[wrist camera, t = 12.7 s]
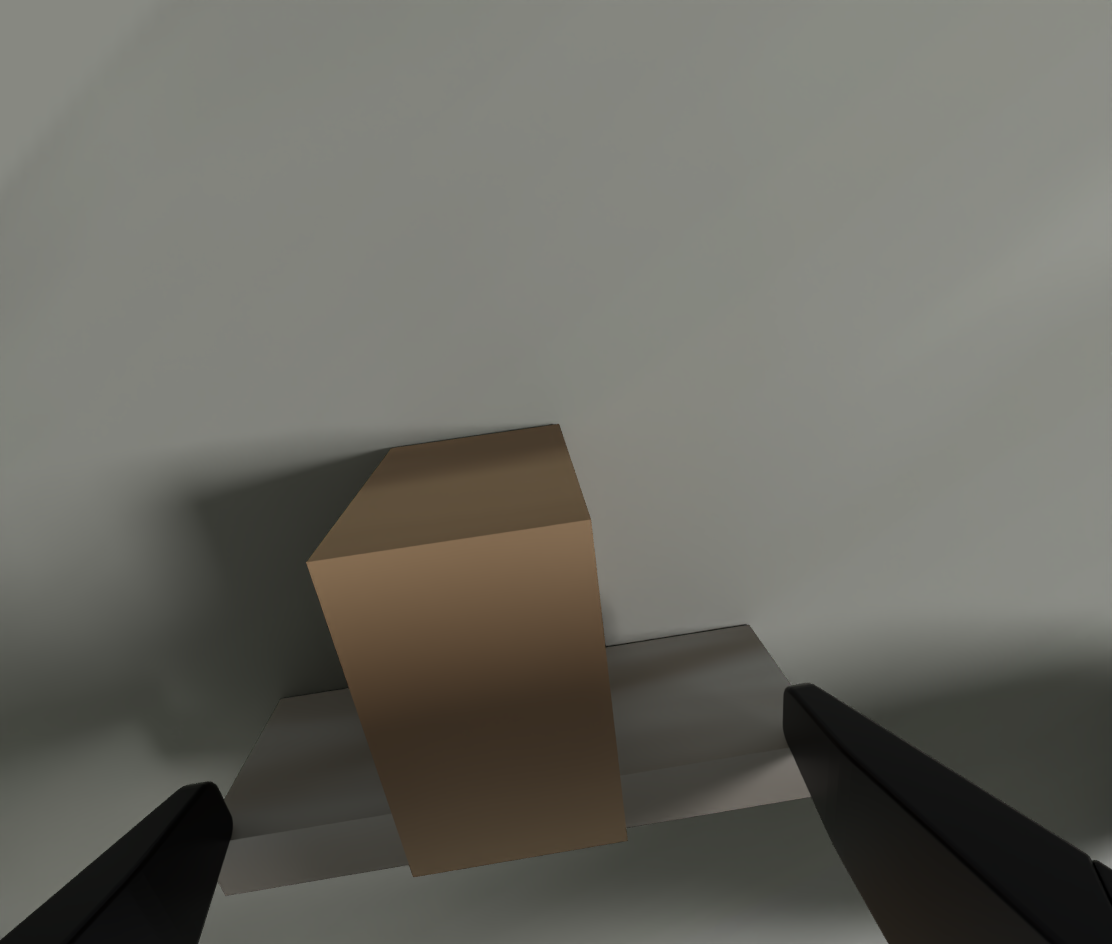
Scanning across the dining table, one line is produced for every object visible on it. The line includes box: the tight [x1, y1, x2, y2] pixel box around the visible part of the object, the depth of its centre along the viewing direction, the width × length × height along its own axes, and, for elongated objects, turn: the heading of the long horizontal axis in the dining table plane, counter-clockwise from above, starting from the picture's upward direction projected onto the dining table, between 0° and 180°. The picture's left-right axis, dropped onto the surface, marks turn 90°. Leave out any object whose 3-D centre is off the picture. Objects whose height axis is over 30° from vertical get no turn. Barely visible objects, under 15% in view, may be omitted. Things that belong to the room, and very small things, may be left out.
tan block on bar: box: [218, 424, 811, 896], centre depth 8 cm, size 6×10×4 cm, turn 97°
